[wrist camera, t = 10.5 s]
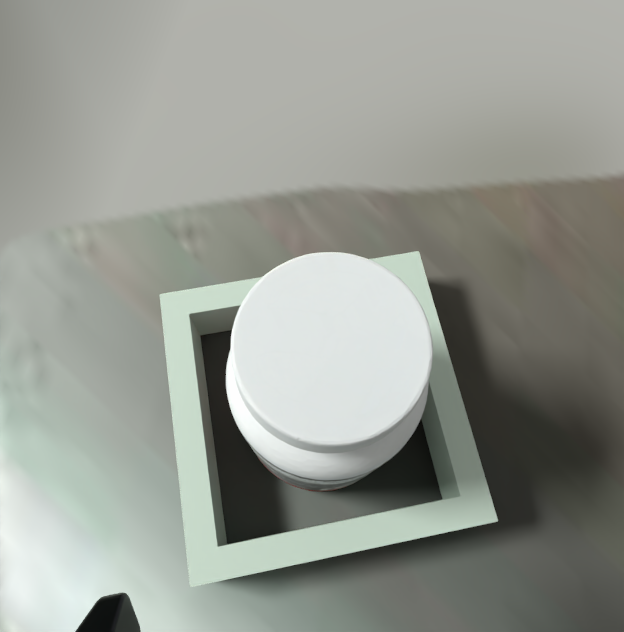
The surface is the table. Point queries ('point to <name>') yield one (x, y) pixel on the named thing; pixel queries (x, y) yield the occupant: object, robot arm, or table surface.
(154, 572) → the table surface
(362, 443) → the pill bottle
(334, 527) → the bottle holder
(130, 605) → the robot arm
